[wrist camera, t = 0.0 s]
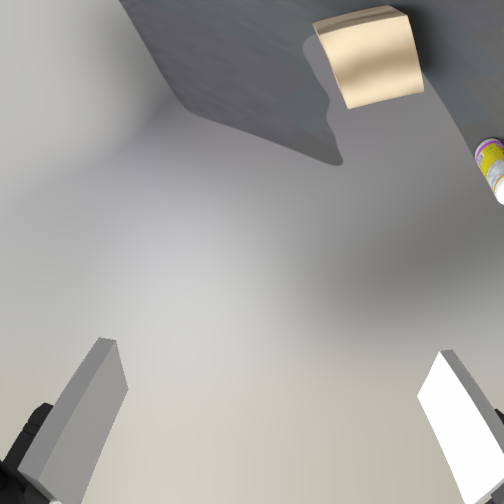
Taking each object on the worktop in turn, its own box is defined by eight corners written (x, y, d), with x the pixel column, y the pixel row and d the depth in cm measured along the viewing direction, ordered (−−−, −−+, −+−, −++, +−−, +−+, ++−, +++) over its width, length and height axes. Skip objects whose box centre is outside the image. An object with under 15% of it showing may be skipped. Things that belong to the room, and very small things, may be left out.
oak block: (312, 23, 28) (319, 35, 24) (388, 5, 24) (407, 15, 20) (339, 87, 35) (348, 109, 32) (407, 71, 31) (424, 91, 28)
